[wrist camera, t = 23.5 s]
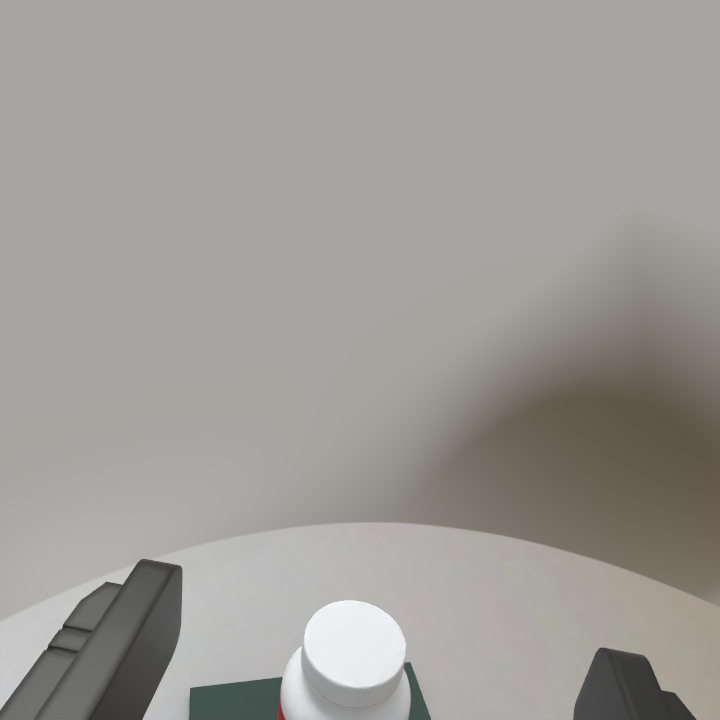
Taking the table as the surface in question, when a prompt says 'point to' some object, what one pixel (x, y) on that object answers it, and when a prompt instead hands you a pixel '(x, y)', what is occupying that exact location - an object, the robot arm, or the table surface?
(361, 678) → the pill bottle
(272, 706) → the mat
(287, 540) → the table surface
